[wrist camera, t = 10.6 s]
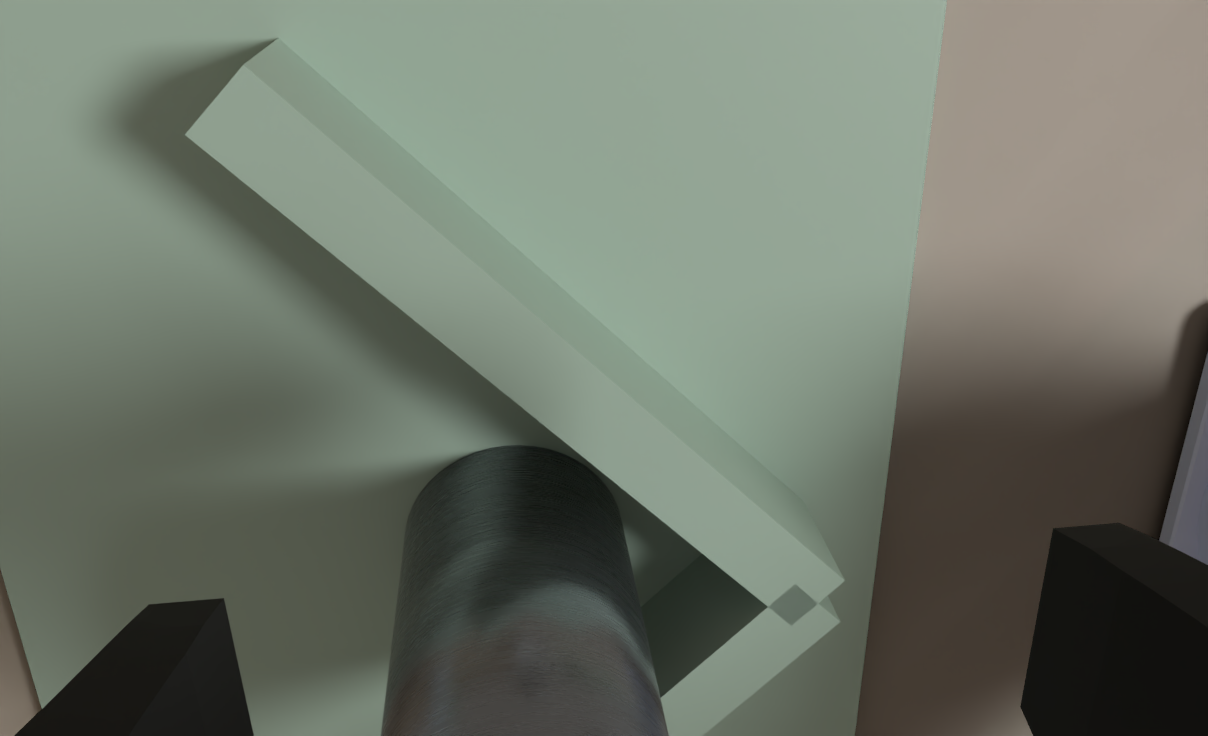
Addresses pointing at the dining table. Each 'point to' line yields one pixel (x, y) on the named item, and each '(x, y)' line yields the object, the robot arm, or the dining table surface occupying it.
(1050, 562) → the robot arm
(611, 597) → the metal axle
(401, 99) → the sage V-block
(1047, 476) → the dining table surface
